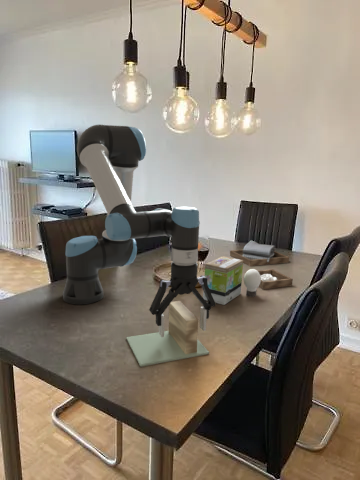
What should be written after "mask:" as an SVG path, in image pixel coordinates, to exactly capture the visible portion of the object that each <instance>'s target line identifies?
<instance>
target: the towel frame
mask: <svg viewBox="0 0 360 480" xmlns="http://www.w3.org/2000/svg"><path fill="white" fill-rule="evenodd" d="M229 256H230V258H234V259H240V260H243V265H244V264H245V265H246V266H249V267H255V266H266V265H275V264H284V263H286V264H287V263H289V262H290V257H289V256H287V255H285V254H283V253H280V252H279V251H276V250H275V251H274V255H273V256H272V258H270V259H269V262H267V259H255V260H250V259H248V258H246V257H244V256H243V249H237V250H236V249H234V250H229Z"/></svg>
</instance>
